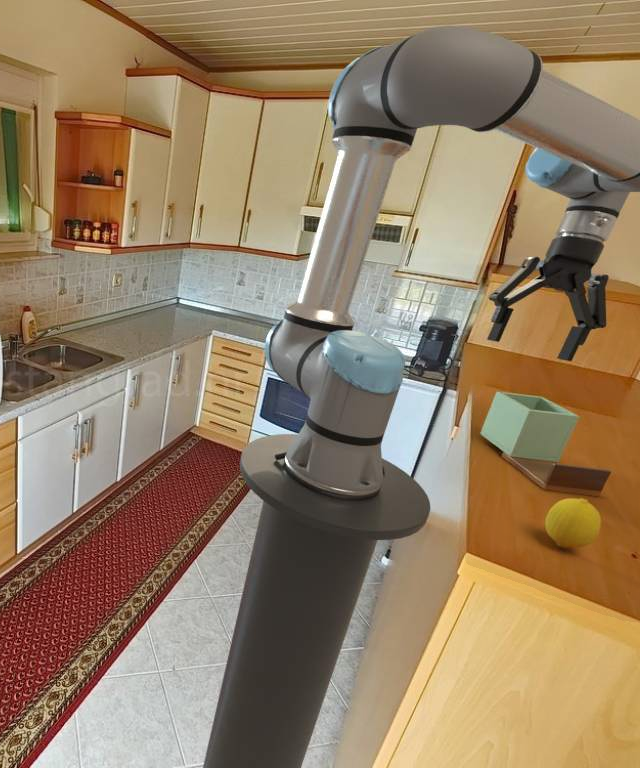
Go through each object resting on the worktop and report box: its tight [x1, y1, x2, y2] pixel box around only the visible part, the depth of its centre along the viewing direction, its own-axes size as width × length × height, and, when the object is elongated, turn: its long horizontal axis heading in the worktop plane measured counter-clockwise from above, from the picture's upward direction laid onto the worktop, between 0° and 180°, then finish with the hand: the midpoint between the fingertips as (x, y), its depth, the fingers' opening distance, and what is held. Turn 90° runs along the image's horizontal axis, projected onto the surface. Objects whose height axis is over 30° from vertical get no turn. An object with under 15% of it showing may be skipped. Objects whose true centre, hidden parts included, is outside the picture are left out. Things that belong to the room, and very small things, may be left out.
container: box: [479, 391, 580, 463], centre depth 97 cm, size 10×9×10 cm
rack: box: [501, 451, 612, 497], centre depth 90 cm, size 12×9×5 cm
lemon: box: [544, 497, 602, 549], centre depth 68 cm, size 6×6×8 cm
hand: (528, 350), depth 94 cm, fingers open, 13 cm apart
